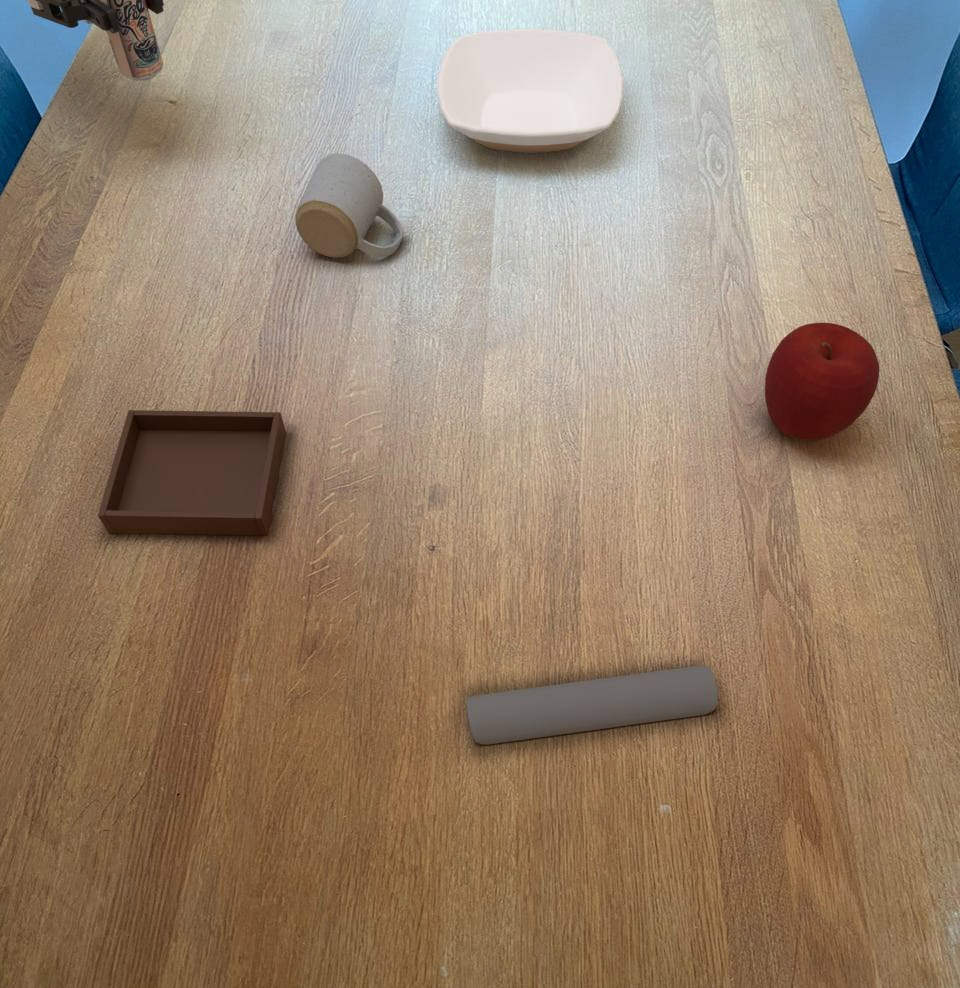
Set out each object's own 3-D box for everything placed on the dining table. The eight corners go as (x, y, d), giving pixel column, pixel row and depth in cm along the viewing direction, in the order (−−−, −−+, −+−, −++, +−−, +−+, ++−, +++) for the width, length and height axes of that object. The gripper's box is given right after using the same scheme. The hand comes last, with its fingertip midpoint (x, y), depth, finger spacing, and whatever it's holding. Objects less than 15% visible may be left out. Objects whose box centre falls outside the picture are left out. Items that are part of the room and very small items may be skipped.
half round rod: (718, 713, 74) (723, 703, 72) (471, 747, 72) (471, 738, 71) (703, 666, 76) (708, 655, 74) (464, 698, 75) (463, 688, 73)
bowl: (444, 70, 120) (442, 27, 115) (615, 72, 119) (620, 29, 114) (433, 176, 109) (431, 132, 104) (621, 179, 108) (627, 135, 103)
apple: (823, 377, 92) (857, 294, 83) (873, 448, 87) (915, 368, 79) (735, 399, 91) (760, 317, 82) (780, 473, 86) (813, 394, 77)
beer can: (144, 88, 102) (106, -35, 91) (111, 75, 103) (70, -48, 93) (174, 67, 104) (140, -56, 94) (141, 55, 105) (104, -68, 95)
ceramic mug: (296, 257, 102) (284, 193, 95) (322, 210, 106) (312, 145, 99) (390, 274, 100) (384, 210, 94) (412, 226, 104) (408, 161, 98)
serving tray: (108, 533, 83) (97, 515, 81) (137, 429, 89) (128, 409, 87) (267, 536, 83) (261, 518, 81) (285, 431, 89) (280, 412, 87)
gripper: (115, -31, 108) (203, 25, 102) (4, 15, 103) (89, 77, 97) (92, -108, 102) (184, -53, 96) (-28, -63, 97) (61, -2, 91)
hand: (136, 12), depth 96 cm, fingers closed on beer can, 4 cm apart
